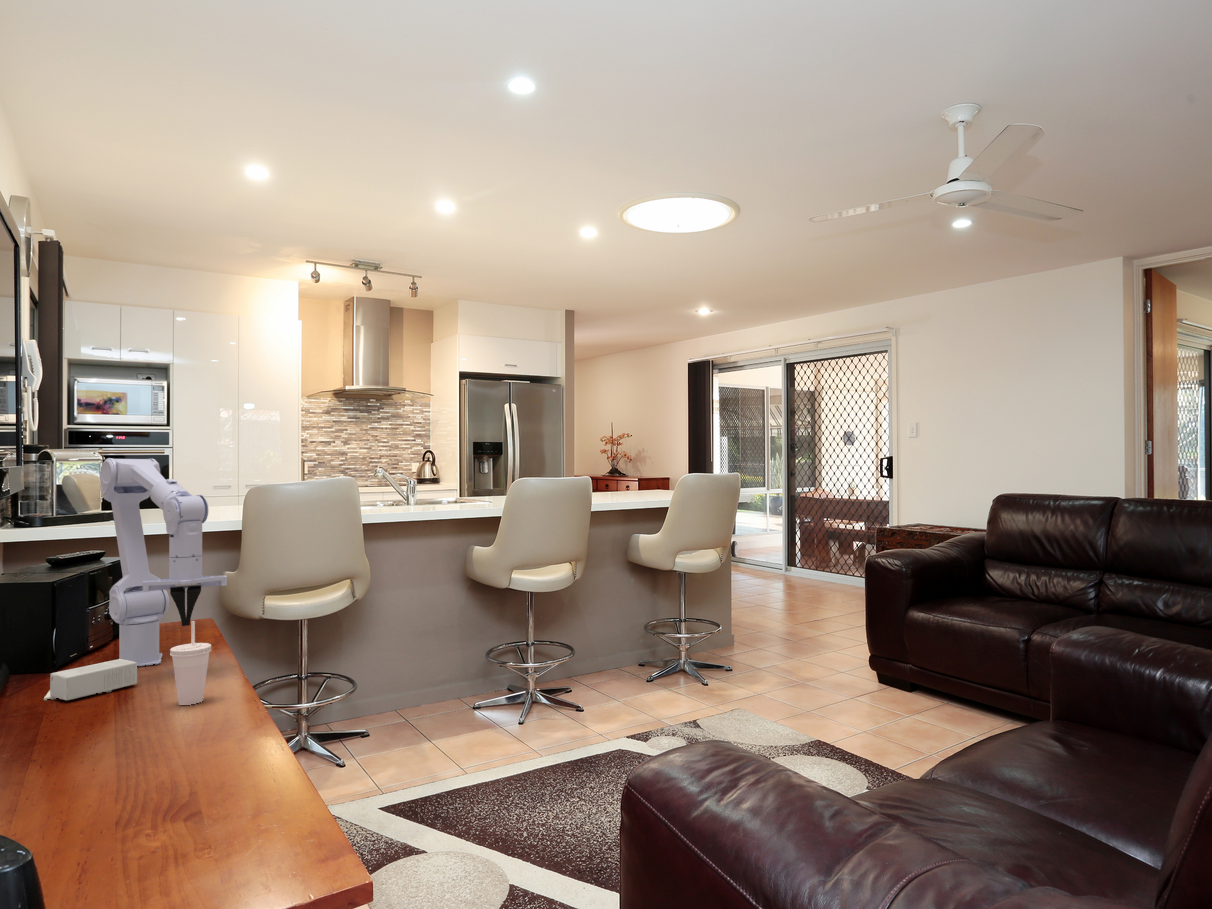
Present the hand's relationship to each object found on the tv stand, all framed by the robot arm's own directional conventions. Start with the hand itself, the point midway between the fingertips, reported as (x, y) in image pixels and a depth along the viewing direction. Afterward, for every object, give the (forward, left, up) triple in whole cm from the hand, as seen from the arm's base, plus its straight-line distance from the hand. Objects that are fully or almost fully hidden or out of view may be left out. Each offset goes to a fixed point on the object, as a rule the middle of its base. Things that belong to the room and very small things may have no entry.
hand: (185, 625), depth 147 cm
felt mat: (-1, -17, -10) cm, 20 cm away
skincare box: (+1, -9, -8) cm, 12 cm away
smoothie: (+20, +1, -10) cm, 23 cm away
